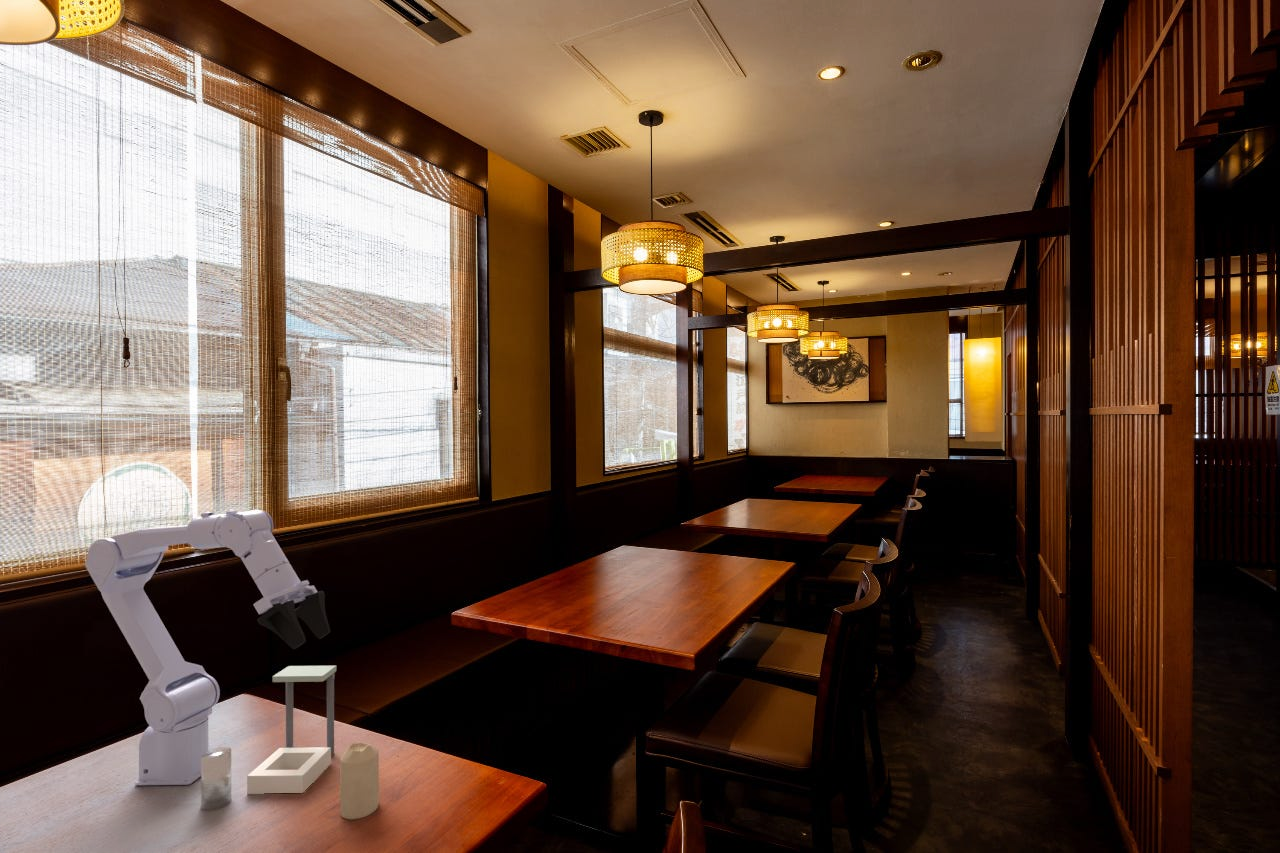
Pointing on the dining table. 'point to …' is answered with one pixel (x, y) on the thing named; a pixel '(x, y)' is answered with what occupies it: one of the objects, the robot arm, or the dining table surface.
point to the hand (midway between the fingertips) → (312, 640)
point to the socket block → (281, 779)
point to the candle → (359, 781)
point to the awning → (308, 675)
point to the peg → (216, 778)
